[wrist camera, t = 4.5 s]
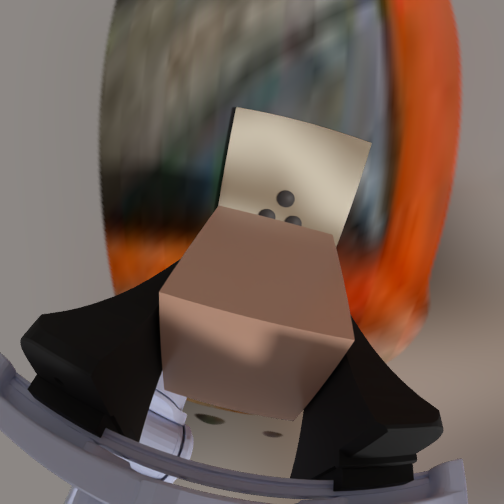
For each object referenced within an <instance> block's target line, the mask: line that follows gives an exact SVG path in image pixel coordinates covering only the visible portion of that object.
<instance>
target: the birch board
mask: <svg viewBox="0 0 504 504" xmlns="http://www.w3.org/2000/svg"><path fill="white" fill-rule="evenodd" d="M370 147H371V143H370V142H367V141H364V140H362V139H359V138H356V137H353V136H350V135H347V134H344V133H341V132H338V131H334V130H331V129H328V128H324V127H321V126H317V125H314V124H310V123H307V122H303V121H299V120H295V119H291V118H287V117H283V116H278V115H274V114H269V113H265V112H260V111H255V110H250V109H244V108H239V107H236V111H235V116H234V121H233V126H232V131H231V136H230V142H229V147H228V152H227V158H226V163H225V169H224V175H223V181H222V186H221V192H220V198H219V205H218V206H223V207H228V208H232V209H236V210H240V211H244V212H248V213H252V214H256V215H260V216H264V217H268V218H272V219H276V220H280V221H284V222H287V223H291V224H295V225H299V226H303V227H306V228H310V229H314V230H317V231H321V232H325V233H328V234H332V235H333V238H334V242H335V246H337V243H338V240H339V238H340V235H341V233H342V230H343V227H344V225H345V222H346V219H347V216H348V214H349V211H350V208H351V205H352V202H353V199H354V197H355V194H356V191H357V188H358V185H359V182H360V179H361V176H362V173H363V169H364V166H365V163H366V160H367V157H368V153H369V150H370Z"/></svg>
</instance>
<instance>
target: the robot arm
mask: <svg viewBox="0 0 504 504" xmlns="http://www.w3.org/2000/svg"><path fill="white" fill-rule="evenodd" d="M180 260H181V259H180ZM180 260H178V261H177V262H175V263H174V264H172V265H171V266H169V267H168V268H166V269H165V270H163V271H162V272H160V273H159V274H157V275H155V276H154V277H152V278H150V279H149V280H147V281H145V282H143V283H142V284H140V285H138V286H136V287H134V288H132V289H130V290H128V291H126V292H124V293H121V294H119V295H117V296H114V297H112V298H109V299H106V300H103V301H100V302H98V303H95V304H92V305H88V306H84V307H81V308H77V309H72V310H68V311H63V312H56V313H50V314H42V315H41V316H40V317H39V318H38V319H37V320H36V321H35V323H34V324H33V325H32V326H31V327H30V328H29V330H28V331H27V332H26V333H25V334H24V336H23V337H22V338H21V347H22V350H23V352H24V354H25V356H26V357H27V359H28V361H29V362H30V364H31V366H32V367H33V369H34V370H35V372H36V373H37V375H36V377H35V378H34V380H33V381H32V383H30V382H29V381H27V380H26V379H25V378H23V377H22V376H21V375H19V374H18V373H16V370H15V368H14V367H13V366H12V364H11V363H10V361H8V359H7V358H6V357H5V356H4V355H3V354H1V353H0V430H1V431H2V432H3V433H4V434H5V435H6V436H7V437H9V438H10V439H11V440H12V441H13V442H14V443H15V444H16V445H17V446H19V447H20V448H21V449H22V450H23V451H25V452H26V453H27V454H28V455H30V456H31V457H32V458H33V459H35V460H36V461H37V462H38V463H40V464H41V465H43V466H44V467H45V468H47V469H48V470H50V471H51V472H52V473H54V474H55V475H57V476H58V477H60V478H61V479H63V480H64V481H66V482H67V483H69V484H70V485H72V487H71V489H70V491H69V493H68V496H67V498H66V500H65V503H64V504H270V503H262V502H254V501H249V500H243V499H237V498H230V497H226V496H221V495H216V494H211V493H207V492H203V491H198V490H194V489H190V488H186V487H183V486H179V485H175V484H172V483H173V482H174V481H175V480H176V479H177V478H179V479H183V480H186V481H189V482H193V483H197V484H201V485H205V486H209V487H213V488H218V489H223V490H228V491H233V492H239V493H245V494H251V495H259V496H267V497H277V498H290V499H312V500H301V501H300V502H299V503H296V504H468V496H467V487H466V479H465V472H464V465H463V459H462V458H460V459H456V460H452V461H448V462H445V463H442V464H439V465H437V466H435V467H433V468H431V469H430V470H429V471H424V472H419V473H414V474H413V465H412V463H415V462H416V461H417V455H416V453H418V452H419V451H421V450H422V449H424V448H426V447H427V446H429V445H430V444H432V443H433V442H435V441H436V440H437V439H438V438H439V437H440V436H441V434H442V433H443V426H442V421H441V417H440V413H439V410H438V409H436V408H435V407H434V406H432V405H431V404H430V403H428V402H427V401H425V400H424V399H423V398H421V397H420V396H419V395H417V394H416V393H415V392H414V391H413V390H412V389H410V388H409V387H408V386H407V385H406V384H405V383H404V382H403V381H402V380H401V379H400V378H399V377H398V376H397V375H396V374H395V373H394V372H393V371H392V370H391V369H390V368H389V367H388V366H387V365H386V364H385V362H384V361H383V360H382V359H381V358H380V356H379V355H378V354H377V353H376V351H375V350H374V349H373V348H372V346H371V345H370V343H369V342H368V341H367V339H366V338H365V336H364V335H363V333H362V332H361V330H360V329H359V327H358V326H357V324H356V323H355V321H354V320H353V318H352V316H351V315H350V316H351V321H352V327H353V333H354V339H355V340H354V342H353V344H352V345H351V347H350V348H349V349H348V351H347V352H346V354H345V355H344V357H343V358H342V360H341V361H340V362H339V364H338V365H337V367H336V368H335V369H334V371H333V372H332V374H331V375H330V376H329V378H328V379H327V380H326V382H325V383H324V384H323V386H322V387H321V388H320V389H319V391H318V392H317V393H316V395H315V396H314V397H313V398H312V400H311V401H310V402H309V403H308V405H307V406H306V407H305V408H304V412H303V420H302V426H301V432H300V438H299V443H298V448H297V453H296V458H295V462H294V465H293V469H292V473H291V476H290V478H280V477H271V476H263V475H257V474H250V473H244V472H239V471H234V470H229V469H223V468H219V467H215V466H211V465H206V464H203V463H199V462H195V461H192V460H190V457H191V454H192V450H193V436H192V432H191V429H190V427H189V426H188V425H186V424H184V423H185V420H186V417H187V414H186V413H184V412H182V409H183V407H184V404H185V401H186V399H187V397H184V396H181V395H178V394H175V393H172V392H169V391H166V390H164V382H163V370H162V357H161V340H160V316H159V291H160V290H161V288H162V287H163V285H164V284H165V282H166V280H167V279H168V277H169V276H170V274H171V273H172V272H173V270H174V269H175V267H176V266H177V264H178V263H179V261H180Z"/></svg>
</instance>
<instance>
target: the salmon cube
mask: <svg viewBox="0 0 504 504" xmlns="http://www.w3.org/2000/svg"><path fill="white" fill-rule="evenodd" d="M159 316H160V340H161V357H162V370H163V382H164V390H166V391H169V392H172V393H175V394H178V395H181V396H184V397H188V398H191V399H194V400H198V401H201V402H205V403H208V404H212V405H216V406H220V407H223V408H228V409H232V410H236V411H240V412H245V413H250V414H254V415H260V416H265V417H271V418H276V419H282V420H289V421H294V420H295V419H296V418H297V417H298V415H299V414H300V413H301V412H302V411H303V409H304V408H305V407H306V406H307V405H308V403H309V402H310V401H311V400H312V398H313V397H314V396H315V395H316V393H317V392H318V391H319V389H320V388H321V387H322V386H323V384H324V383H325V382H326V380H327V379H328V378H329V376H330V375H331V374H332V372H333V371H334V369H335V368H336V367H337V365H338V364H339V362H340V361H341V360H342V358H343V357H344V355H345V354H346V352H347V351H348V349H349V348H350V347H351V345H352V344H353V342H354V340H355V339H354V333H353V327H352V321H351V316H350V310H349V305H348V300H347V295H346V290H345V286H344V281H343V276H342V272H341V267H340V263H339V259H338V255H337V250H336V246H335V242H334V238H333V235H332V234H328V233H325V232H321V231H317V230H314V229H310V228H306V227H303V226H299V225H295V224H291V223H287V222H284V221H280V220H276V219H272V218H268V217H264V216H260V215H256V214H252V213H248V212H244V211H240V210H236V209H232V208H228V207H223V206H218V207H217V209H216V210H215V211H214V213H213V214H212V216H211V217H210V218H209V220H208V221H207V223H206V224H205V225H204V227H203V228H202V230H201V231H200V232H199V234H198V235H197V237H196V238H195V239H194V241H193V242H192V244H191V245H190V247H189V248H188V250H187V251H186V252H185V254H184V255H183V257H182V258H181V260H180V261H179V263H178V264H177V266H176V267H175V269H174V270H173V272H172V273H171V274H170V276H169V277H168V279H167V280H166V282H165V284H164V285H163V287H162V288H161V290H160V291H159Z"/></svg>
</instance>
